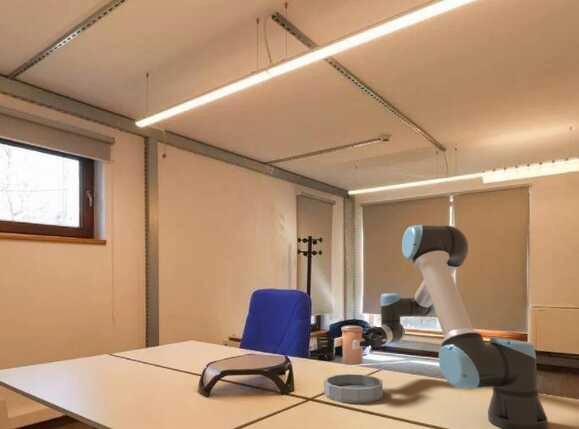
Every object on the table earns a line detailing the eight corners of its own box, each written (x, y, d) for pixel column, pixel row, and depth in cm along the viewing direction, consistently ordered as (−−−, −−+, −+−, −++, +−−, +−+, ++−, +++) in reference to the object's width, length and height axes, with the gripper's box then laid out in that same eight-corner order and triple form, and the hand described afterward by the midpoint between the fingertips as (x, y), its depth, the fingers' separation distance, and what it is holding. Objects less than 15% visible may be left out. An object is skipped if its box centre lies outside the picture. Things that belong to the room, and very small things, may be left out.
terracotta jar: (362, 365, 146) (361, 328, 148) (340, 364, 148) (340, 327, 149) (364, 360, 153) (363, 325, 155) (343, 359, 155) (342, 325, 157)
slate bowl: (381, 405, 137) (381, 390, 138) (320, 401, 142) (320, 386, 143) (383, 388, 156) (383, 375, 157) (329, 385, 161) (329, 372, 162)
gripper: (402, 349, 158) (369, 359, 141) (356, 343, 171) (321, 351, 154) (401, 328, 159) (368, 335, 142) (356, 323, 172) (321, 330, 155)
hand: (344, 343), depth 148 cm, fingers closed on terracotta jar, 7 cm apart
